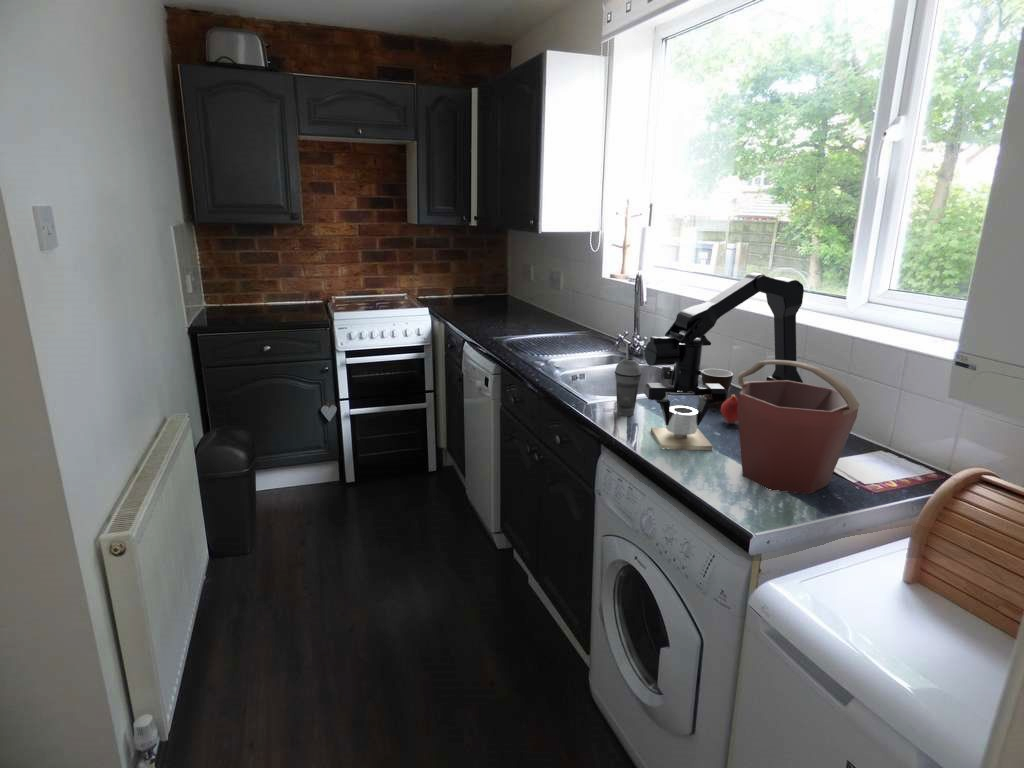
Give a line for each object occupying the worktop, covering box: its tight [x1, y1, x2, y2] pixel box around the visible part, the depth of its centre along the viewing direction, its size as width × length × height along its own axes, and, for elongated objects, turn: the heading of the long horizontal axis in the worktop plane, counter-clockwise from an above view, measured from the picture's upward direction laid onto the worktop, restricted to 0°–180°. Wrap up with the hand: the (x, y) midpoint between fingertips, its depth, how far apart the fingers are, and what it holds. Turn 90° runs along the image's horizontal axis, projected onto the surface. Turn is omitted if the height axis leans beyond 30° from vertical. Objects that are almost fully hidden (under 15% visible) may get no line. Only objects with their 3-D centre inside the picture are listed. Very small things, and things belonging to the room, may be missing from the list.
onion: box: [720, 394, 738, 425], centre depth 165 cm, size 6×6×8 cm
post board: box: [650, 427, 713, 451], centre depth 153 cm, size 12×12×6 cm
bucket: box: [737, 359, 860, 495], centre depth 131 cm, size 24×22×25 cm
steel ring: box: [665, 405, 699, 435], centre depth 152 cm, size 7×7×5 cm
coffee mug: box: [701, 368, 734, 410], centre depth 180 cm, size 12×9×10 cm
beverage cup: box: [614, 341, 642, 417], centre depth 170 cm, size 7×7×20 cm
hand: (681, 425), depth 152 cm, fingers open, 7 cm apart
